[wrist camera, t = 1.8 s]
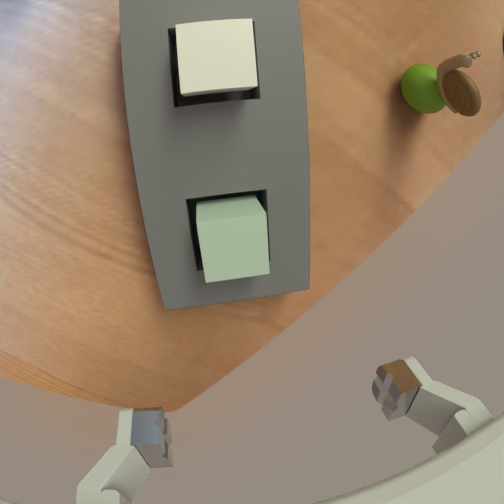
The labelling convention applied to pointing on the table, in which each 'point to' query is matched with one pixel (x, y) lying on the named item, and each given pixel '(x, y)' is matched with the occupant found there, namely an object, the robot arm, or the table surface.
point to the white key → (216, 56)
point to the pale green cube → (232, 238)
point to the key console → (218, 145)
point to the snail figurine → (442, 86)
